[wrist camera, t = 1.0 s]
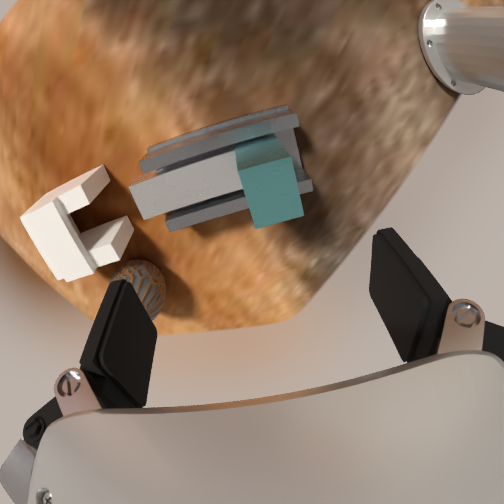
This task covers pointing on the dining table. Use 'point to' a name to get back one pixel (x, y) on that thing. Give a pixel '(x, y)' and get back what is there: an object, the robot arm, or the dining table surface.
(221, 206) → the guide channel
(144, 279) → the vase
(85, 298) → the dining table surface
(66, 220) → the socket block
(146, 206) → the teal-tipped grey beam
